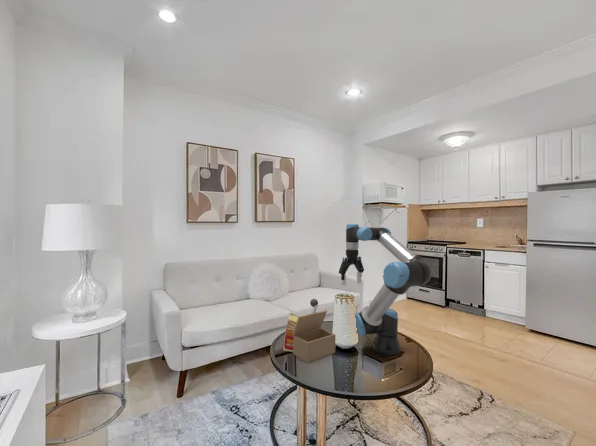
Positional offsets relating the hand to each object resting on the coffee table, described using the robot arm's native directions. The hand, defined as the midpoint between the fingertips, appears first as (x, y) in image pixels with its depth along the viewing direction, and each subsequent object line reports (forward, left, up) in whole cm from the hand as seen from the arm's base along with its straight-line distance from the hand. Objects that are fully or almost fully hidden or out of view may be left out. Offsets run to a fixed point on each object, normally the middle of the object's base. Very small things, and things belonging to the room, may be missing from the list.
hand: (351, 284), depth 177 cm
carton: (0, +29, -35) cm, 45 cm away
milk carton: (+12, +34, -35) cm, 50 cm away
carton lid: (+2, +29, -15) cm, 33 cm away
